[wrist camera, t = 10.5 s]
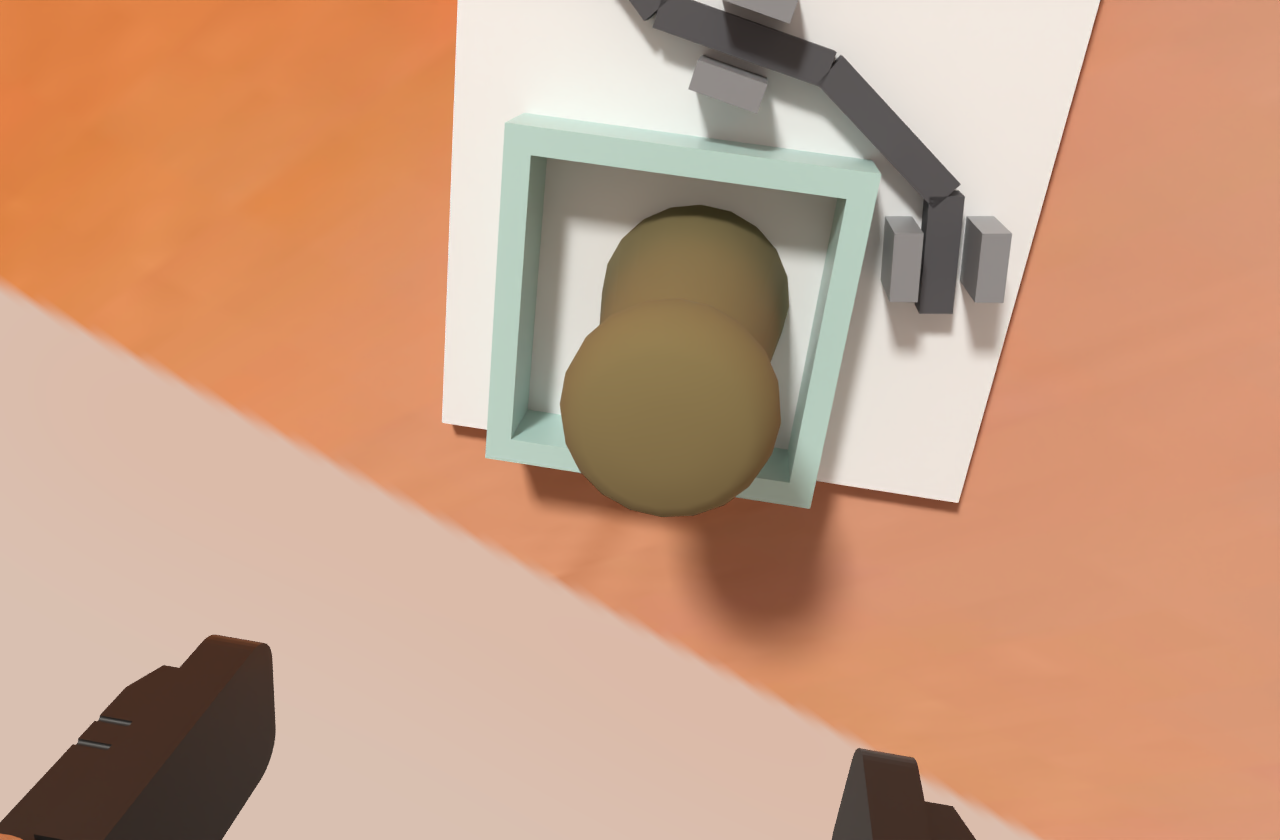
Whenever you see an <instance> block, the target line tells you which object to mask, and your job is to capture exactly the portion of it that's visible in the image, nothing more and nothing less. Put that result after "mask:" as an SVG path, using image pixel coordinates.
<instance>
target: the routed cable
mask: <svg viewBox="0 0 1280 840" xmlns="http://www.w3.org/2000/svg"><path fill="white" fill-rule="evenodd" d="M629 1H630V2H631V4H632V5H633V6H634V8H635V9H636V11H637V12H638V13H639V15H640V16H641V17H642V19H643V20H644V21H647V20H649V19H650V18H651V17H652V16H653V15H655V14H656V13H657V14H656V18H655V21H654V24H653V28H655V29H658V30H661V31H664V32H667V33H670V34H672V35H675V36H678V37H681V38H684V39H686V40H689V41H692V42H695V43H698V44H701V45H703V46H706V47H709V48H712V49H715V50H717V51H720V52H723V53H726V54H729V55H732V56H734V57H737V58H740V59H743V60H746V61H748V62H751V63H754V64H757V65H760V66H763V67H765V68H768V69H771V70H774V71H777V72H779V73H782V74H785V75H788V76H791V77H794V78H796V79H799V80H802V81H805V82H808V83H810V84H813V85H816V86H819V87H820V88H821V89H822V90H823V91H824V92H825V93H826V94H827V95H828V97H829V98H830V99H831V100H832V101H833V102H834V103H835V104H836V105H837V106H838V107H839V108H840V109H841V110H842V112H843V113H844V114H845V115H846V116H847V117H848V118H849V119H850V120H851V121H852V122H853V123H854V124H855V125H856V127H857V128H858V129H859V130H860V131H861V132H862V133H863V134H864V135H865V136H866V137H867V138H868V139H869V140H870V141H871V143H872V144H873V145H874V146H875V147H876V148H877V149H878V150H879V151H880V152H881V153H882V154H883V155H884V156H885V158H886V159H887V160H888V161H889V162H890V163H891V164H892V165H893V166H894V167H895V168H896V169H897V170H898V171H899V173H900V174H901V175H902V176H903V177H904V178H905V179H906V180H907V181H908V182H909V183H910V184H911V185H912V186H913V188H914V189H915V190H916V191H917V192H918V193H919V194H920V195H921V196H922V197H923V198H924V201H923V213H922V224H921V230H922V232H923V233H924V236H923V247H922V259H921V270H920V281H919V292H918V302H915V306H916V308H917V310H918V313H919V314H953V307H954V297H955V288H956V278H957V268H958V259H959V249H960V240H961V230H962V220H963V211H964V201H965V196H964V195H963V194H962V193H961V192H960V191H959V190H955V189H956V188H957V187H959V186H960V185H961V184H960V183H959V182H958V181H957V180H956V178H955V177H954V176H953V175H952V174H951V173H950V172H949V171H948V170H947V169H946V168H945V166H944V165H943V164H942V163H941V162H940V161H939V160H938V159H937V158H936V157H935V156H934V155H933V153H932V152H931V151H930V150H929V149H928V148H927V147H926V146H925V145H924V144H923V143H922V141H921V140H920V139H919V138H918V137H917V136H916V135H915V134H914V133H913V132H912V131H911V130H910V128H909V127H908V126H907V125H906V124H905V123H904V122H903V121H902V120H901V119H900V118H899V116H898V115H897V114H896V113H895V112H894V111H893V110H892V109H891V108H890V107H889V106H888V104H887V103H886V102H885V101H884V100H883V99H882V98H881V97H880V96H879V95H878V94H877V93H876V91H875V90H874V89H873V88H872V87H871V86H870V85H869V84H868V83H867V82H866V81H865V79H864V78H863V77H862V76H861V75H860V74H859V73H858V72H857V71H856V70H855V69H854V68H853V66H852V65H851V64H850V63H849V62H848V61H847V60H846V59H845V58H844V57H843V56H842V55H840V56H839V57H838V58H837V59H836V60H835V61H834V58H835V55H836V53H837V52H836V51H835V50H832V49H829V48H827V47H824V46H821V45H818V44H815V43H812V42H810V41H807V40H804V39H801V38H798V37H796V36H793V35H790V34H787V33H784V32H782V31H779V30H776V29H773V28H770V27H768V26H765V25H762V24H759V23H756V22H753V21H751V20H748V19H745V18H742V17H739V16H737V15H734V14H731V13H728V12H725V11H723V10H720V9H717V8H714V7H711V6H709V5H706V4H703V3H700V2H697V1H694V0H629ZM833 61H834V62H833Z"/></svg>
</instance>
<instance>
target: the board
mask: <svg viewBox="0 0 1280 840" xmlns="http://www.w3.org/2000/svg"><path fill="white" fill-rule="evenodd" d="M694 1H697V2H700V3H703V4H706V5H709V6H711V7H714V8H717V9H720V10H723V11H725V12H728V13H731V14H734V15H737V16H739V17H742V18H745V19H748V20H751V21H753V22H756V23H759V24H762V25H765V26H768V27H770V28H773V29H776V30H779V31H782V32H784V33H787V34H790V35H793V36H796V37H798V38H801V39H804V40H807V41H810V42H812V43H815V44H818V45H821V46H824V47H827V48H829V49H832V50H835V51H836V52H837V53H836V55H835V58H834V61H835V60H836V59H837V58H838V57H839V56H840V55H842V56H843V57H844V58H845V59H846V60H847V61H848V62H849V63H850V64H851V65H852V66H853V68H854V69H855V70H856V71H857V72H858V73H859V74H860V75H861V76H862V77H863V78H864V79H865V81H866V82H867V83H868V84H869V85H870V86H871V87H872V88H873V89H874V90H875V91H876V93H877V94H878V95H879V96H880V97H881V98H882V99H883V100H884V101H885V102H886V103H887V104H888V106H889V107H890V108H891V109H892V110H893V111H894V112H895V113H896V114H897V115H898V116H899V118H900V119H901V120H902V121H903V122H904V123H905V124H906V125H907V126H908V127H909V128H910V130H911V131H912V132H913V133H914V134H915V135H916V136H917V137H918V138H919V139H920V140H921V141H922V143H923V144H924V145H925V146H926V147H927V148H928V149H929V150H930V151H931V152H932V153H933V155H934V156H935V157H936V158H937V159H938V160H939V161H940V162H941V163H942V164H943V165H944V166H945V168H946V169H947V170H948V171H949V172H950V173H951V174H952V175H953V176H954V177H955V178H956V180H957V181H958V182H959V183H960V184H961V185H960V186H959V187H957V188H956V189H955V190H959V191H960V192H961V193H962V194H963V195H964V196H965V201H964V211H963V220H962V230H961V240H960V249H959V259H958V268H957V278H956V288H955V297H954V307H953V314H919V313H918V310H917V308H916V306H915V302H918V292H919V281H920V270H921V259H922V247H923V236H924V233H923V232H922V230H921V224H922V213H923V201H924V198H923V197H922V196H921V195H920V194H919V193H918V192H917V191H916V190H915V189H914V188H913V186H912V185H911V184H910V183H909V182H908V181H907V180H906V179H905V178H904V177H903V176H902V175H901V174H900V173H899V171H898V170H897V169H896V168H895V167H894V166H893V165H892V164H891V163H890V162H889V161H888V160H887V159H886V158H885V156H884V155H883V154H882V153H881V152H880V151H879V150H878V149H877V148H876V147H875V146H874V145H873V144H872V143H871V141H870V140H869V139H868V138H867V137H866V136H865V135H864V134H863V133H862V132H861V131H860V130H859V129H858V128H857V127H856V125H855V124H854V123H853V122H852V121H851V120H850V119H849V118H848V117H847V116H846V115H845V114H844V113H843V112H842V110H841V109H840V108H839V107H838V106H837V105H836V104H835V103H834V102H833V101H832V100H831V99H830V98H829V97H828V95H827V94H826V93H825V92H824V91H823V90H822V89H821V88H820V87H819V86H816V85H813V84H810V83H808V82H805V81H802V80H799V79H796V78H794V77H791V76H788V75H785V74H782V73H779V72H777V71H774V70H771V69H768V68H765V67H763V66H760V65H757V64H754V63H751V62H748V61H746V60H743V59H740V58H737V57H734V56H732V55H729V54H726V53H723V52H720V51H717V50H715V49H712V48H709V47H706V46H703V45H701V44H698V43H695V42H692V41H689V40H686V39H684V38H681V37H678V36H675V35H672V34H670V33H667V32H664V31H661V30H658V29H655V28H653V24H654V21H655V18H656V14H657V13H656V14H655V15H653V16H652V17H651V18H650V19H649V20H647V21H644V20H643V19H642V17H641V16H640V15H639V13H638V12H637V11H636V9H635V8H634V6H633V5H632V4H631V2H630V1H629V0H458V10H457V36H456V63H455V90H454V116H453V143H452V170H451V196H450V223H449V250H448V276H447V303H446V330H445V356H444V383H443V410H442V423H447V424H453V425H460V426H466V427H473V428H479V429H486V430H487V421H488V404H489V387H490V369H491V352H492V335H493V318H494V301H495V283H496V266H497V249H498V232H499V214H500V197H501V180H502V163H503V146H504V128H505V122H507V121H509V120H511V119H513V118H515V117H517V116H519V115H521V114H523V113H530V114H537V115H544V116H552V117H559V118H566V119H574V120H581V121H588V122H596V123H603V124H610V125H618V126H625V127H632V128H640V129H647V130H654V131H662V132H669V133H676V134H684V135H691V136H698V137H706V138H713V139H720V140H728V141H735V142H742V143H750V144H757V145H764V146H772V147H779V148H786V149H794V150H801V151H809V152H816V153H823V154H831V155H838V156H845V157H853V158H860V159H867V160H873V162H874V163H875V165H876V167H877V168H878V170H879V171H880V173H881V179H880V184H879V188H878V193H877V198H876V202H875V207H874V212H873V216H872V221H871V226H870V230H869V235H868V240H867V245H866V249H865V254H864V259H863V263H862V268H861V273H860V277H859V282H858V287H857V291H856V296H855V301H854V305H853V310H852V315H851V320H850V324H849V329H848V334H847V338H846V343H845V348H844V352H843V357H842V362H841V366H840V371H839V376H838V381H837V385H836V390H835V395H834V399H833V404H832V409H831V413H830V418H829V423H828V427H827V432H826V437H825V442H824V446H823V451H822V456H821V460H820V465H819V470H818V474H817V479H816V481H820V482H827V483H833V484H839V485H846V486H852V487H859V488H865V489H872V490H878V491H884V492H891V493H897V494H904V495H910V496H917V497H923V498H929V499H936V500H942V501H949V502H955V503H958V502H959V499H960V495H961V492H962V488H963V485H964V481H965V477H966V474H967V470H968V467H969V463H970V460H971V456H972V453H973V449H974V446H975V442H976V439H977V435H978V431H979V428H980V424H981V421H982V417H983V414H984V410H985V407H986V403H987V400H988V396H989V392H990V389H991V385H992V382H993V378H994V375H995V371H996V368H997V364H998V361H999V357H1000V354H1001V350H1002V346H1003V343H1004V339H1005V336H1006V332H1007V329H1008V325H1009V322H1010V318H1011V315H1012V311H1013V308H1014V304H1015V300H1016V297H1017V293H1018V290H1019V286H1020V283H1021V279H1022V276H1023V272H1024V269H1025V265H1026V261H1027V258H1028V254H1029V251H1030V247H1031V244H1032V240H1033V237H1034V233H1035V230H1036V226H1037V223H1038V219H1039V215H1040V212H1041V208H1042V205H1043V201H1044V198H1045V194H1046V191H1047V187H1048V184H1049V180H1050V176H1051V173H1052V169H1053V166H1054V162H1055V159H1056V155H1057V152H1058V148H1059V145H1060V141H1061V138H1062V134H1063V130H1064V127H1065V123H1066V120H1067V116H1068V113H1069V109H1070V106H1071V102H1072V99H1073V95H1074V92H1075V88H1076V84H1077V81H1078V77H1079V74H1080V70H1081V67H1082V63H1083V60H1084V56H1085V53H1086V49H1087V45H1088V42H1089V38H1090V35H1091V31H1092V28H1093V24H1094V21H1095V17H1096V14H1097V10H1098V7H1099V3H1100V0H694ZM834 61H833V62H834ZM836 203H837V198H835V197H828V196H821V195H814V194H807V193H799V192H792V191H785V190H778V189H771V188H763V187H756V186H749V185H742V184H734V183H727V182H720V181H713V180H706V179H698V178H691V177H684V176H677V175H670V174H662V173H655V172H648V171H641V170H634V169H626V168H619V167H612V166H605V165H597V164H590V163H583V162H576V161H569V160H561V159H554V158H547V165H546V178H545V191H544V204H543V217H542V231H541V244H540V257H539V270H538V283H537V296H536V309H535V323H534V336H533V349H532V362H531V375H530V388H529V402H528V410H533V411H540V412H546V413H553V414H559V415H561V410H560V400H561V394H562V389H563V383H564V378H565V372H566V371H567V369H568V367H569V366H570V364H571V362H572V360H573V359H574V357H575V355H576V353H577V352H578V350H579V348H580V346H581V345H582V343H583V341H584V339H585V338H586V336H587V335H589V334H590V333H591V332H592V331H593V330H594V329H595V328H597V327H598V326H599V325H600V312H601V299H602V289H603V284H604V279H605V274H606V269H607V264H608V262H609V260H610V259H611V257H612V255H613V253H614V251H615V250H616V248H617V246H618V244H619V243H620V241H621V239H622V238H623V237H624V236H625V235H627V234H628V233H629V232H630V231H631V230H632V229H633V228H634V227H635V226H637V225H638V224H639V223H640V222H641V221H642V220H643V219H645V218H648V217H650V216H652V215H655V214H657V213H659V212H662V211H664V210H666V209H668V208H671V207H681V206H692V205H705V206H709V207H714V208H718V209H723V210H727V211H731V212H733V213H735V214H736V215H738V216H740V217H741V218H743V219H745V220H746V221H748V222H750V223H751V224H753V225H755V226H756V227H757V228H758V229H759V230H760V231H761V232H762V233H763V235H764V236H765V237H766V238H767V239H768V240H769V241H770V243H771V244H772V245H773V246H774V247H775V248H776V250H777V252H778V254H779V257H780V259H781V262H782V264H783V267H784V269H785V272H786V274H787V277H788V292H789V309H788V312H787V316H786V319H785V323H784V327H783V330H782V334H781V336H780V339H779V341H778V344H777V347H776V349H775V352H774V355H773V357H772V360H771V362H770V363H771V365H772V367H773V370H774V372H775V374H776V377H777V379H778V384H779V398H780V414H781V425H780V428H779V432H778V435H777V439H776V442H775V445H774V448H780V449H787V450H788V446H789V441H790V436H791V431H792V426H793V421H794V416H795V411H796V406H797V400H798V395H799V390H800V385H801V380H802V375H803V370H804V365H805V360H806V355H807V350H808V345H809V340H810V335H811V329H812V324H813V319H814V314H815V309H816V304H817V299H818V294H819V289H820V284H821V279H822V274H823V269H824V263H825V258H826V253H827V248H828V243H829V238H830V233H831V228H832V223H833V218H834V213H835V208H836Z"/></svg>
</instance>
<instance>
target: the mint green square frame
mask: <svg viewBox="0 0 1280 840" xmlns="http://www.w3.org/2000/svg"><path fill="white" fill-rule="evenodd" d="M547 158H554V159H561V160H569V161H576V162H583V163H590V164H597V165H605V166H612V167H619V168H626V169H634V170H641V171H648V172H655V173H662V174H670V175H677V176H684V177H691V178H698V179H706V180H713V181H720V182H727V183H734V184H742V185H749V186H756V187H763V188H771V189H778V190H785V191H792V192H799V193H807V194H814V195H821V196H828V197H835V198H837V203H836V208H835V213H834V218H833V223H832V228H831V233H830V238H829V243H828V248H827V253H826V258H825V263H824V269H823V274H822V279H821V284H820V289H819V294H818V299H817V304H816V309H815V314H814V319H813V324H812V329H811V335H810V340H809V345H808V350H807V355H806V360H805V365H804V370H803V375H802V380H801V385H800V390H799V395H798V400H797V406H796V411H795V416H794V421H793V426H792V431H791V436H790V441H789V446H788V450H787V449H780V448H774V449H773V452H772V455H771V456H770V458H769V459H768V461H767V462H766V464H765V465H764V467H763V468H762V469H761V471H760V472H759V474H758V475H757V476H756V478H755V479H754V481H753V482H752V483H751V485H750V486H749V487H748V488H747V489H745V490H744V491H743V492H741V493H740V494H739V495H737V496H736V497H738V498H744V499H750V500H757V501H763V502H769V503H776V504H782V505H788V506H795V507H801V508H808V509H810V507H811V503H812V498H813V493H814V488H815V484H816V479H817V474H818V470H819V465H820V460H821V456H822V451H823V446H824V442H825V437H826V432H827V427H828V423H829V418H830V413H831V409H832V404H833V399H834V395H835V390H836V385H837V381H838V376H839V371H840V366H841V362H842V357H843V352H844V348H845V343H846V338H847V334H848V329H849V324H850V320H851V315H852V310H853V305H854V301H855V296H856V291H857V287H858V282H859V277H860V273H861V268H862V263H863V259H864V254H865V249H866V245H867V240H868V235H869V230H870V226H871V221H872V216H873V212H874V207H875V202H876V198H877V193H878V188H879V184H880V179H881V173H880V171H879V170H878V168H877V167H876V165H875V163H874V162H873V160H867V159H860V158H853V157H845V156H838V155H831V154H823V153H816V152H809V151H801V150H794V149H786V148H779V147H772V146H764V145H757V144H750V143H742V142H735V141H728V140H720V139H713V138H706V137H698V136H691V135H684V134H676V133H669V132H662V131H654V130H647V129H640V128H632V127H625V126H618V125H610V124H603V123H596V122H588V121H581V120H574V119H566V118H559V117H552V116H544V115H537V114H530V113H523V114H521V115H519V116H517V117H515V118H513V119H511V120H509V121H507V122H505V128H504V146H503V163H502V180H501V197H500V214H499V232H498V249H497V266H496V283H495V301H494V318H493V335H492V352H491V369H490V387H489V404H488V421H487V438H486V455H485V458H489V459H496V460H502V461H509V462H515V463H521V464H528V465H534V466H540V467H547V468H553V469H559V470H566V471H572V472H579V473H581V472H580V471H579V469H578V467H577V465H576V463H575V461H574V459H573V457H572V455H571V453H570V451H569V449H568V447H567V445H566V443H565V437H564V430H563V424H562V417H561V415H559V414H553V413H546V412H540V411H533V410H528V402H529V388H530V375H531V362H532V349H533V336H534V323H535V309H536V296H537V283H538V270H539V257H540V244H541V231H542V217H543V204H544V191H545V178H546V165H547Z"/></svg>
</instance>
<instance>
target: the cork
mask: <svg viewBox="0 0 1280 840" xmlns="http://www.w3.org/2000/svg"><path fill="white" fill-rule="evenodd" d="M788 309H789V292H788V277H787V274H786V272H785V269H784V267H783V264H782V262H781V259H780V257H779V254H778V252H777V250H776V248H775V247H774V246H773V245H772V244H771V243H770V241H769V240H768V239H767V238H766V237H765V236H764V235H763V233H762V232H761V231H760V230H759V229H758V228H757V227H756V226H755V225H753V224H751V223H750V222H748V221H746V220H745V219H743V218H741V217H740V216H738V215H736V214H735V213H733V212H731V211H727V210H723V209H718V208H714V207H709V206H705V205H692V206H681V207H671V208H668V209H666V210H664V211H662V212H659V213H657V214H655V215H652V216H650V217H648V218H645V219H643V220H642V221H641V222H640V223H639V224H638V225H637V226H635V227H634V228H633V229H632V230H631V231H630V232H629V233H628V234H627V235H625V236H624V237H623V238H622V239H621V241H620V243H619V244H618V246H617V248H616V250H615V251H614V253H613V255H612V257H611V259H610V260H609V262H608V264H607V269H606V274H605V279H604V284H603V289H602V299H601V312H600V325H599V326H598V327H597V328H595V329H594V330H593V331H592V332H591V333H590V334H589V335H587V336H586V338H585V339H584V341H583V343H582V345H581V346H580V348H579V350H578V352H577V353H576V355H575V357H574V359H573V360H572V362H571V364H570V366H569V367H568V369H567V371H566V372H565V378H564V383H563V389H562V394H561V400H560V410H561V417H562V424H563V430H564V437H565V443H566V445H567V447H568V449H569V451H570V453H571V455H572V457H573V459H574V461H575V463H576V465H577V467H578V469H579V471H580V472H581V473H582V474H583V475H584V476H585V477H586V478H587V479H588V480H589V481H590V482H591V483H592V484H593V485H594V486H595V487H596V488H597V489H598V490H599V491H600V492H601V493H602V494H603V495H605V496H607V497H608V498H610V499H612V500H614V501H616V502H617V503H619V504H621V505H623V506H625V507H626V508H628V509H630V510H634V511H638V512H643V513H647V514H651V515H655V516H660V517H672V516H694V515H697V514H700V513H703V512H706V511H708V510H711V509H714V508H717V507H720V506H723V505H725V504H726V503H728V502H729V501H730V500H732V499H733V498H734V497H736V496H737V495H739V494H740V493H741V492H743V491H744V490H745V489H747V488H748V487H749V486H750V485H751V483H752V482H753V481H754V479H755V478H756V476H757V475H758V474H759V472H760V471H761V469H762V468H763V467H764V465H765V464H766V462H767V461H768V459H769V458H770V456H771V455H772V452H773V449H774V445H775V442H776V439H777V435H778V432H779V428H780V425H781V414H780V398H779V384H778V379H777V377H776V374H775V372H774V370H773V367H772V365H771V363H770V362H771V360H772V357H773V355H774V352H775V349H776V347H777V344H778V341H779V339H780V336H781V334H782V330H783V327H784V323H785V319H786V316H787V312H788Z"/></svg>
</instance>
